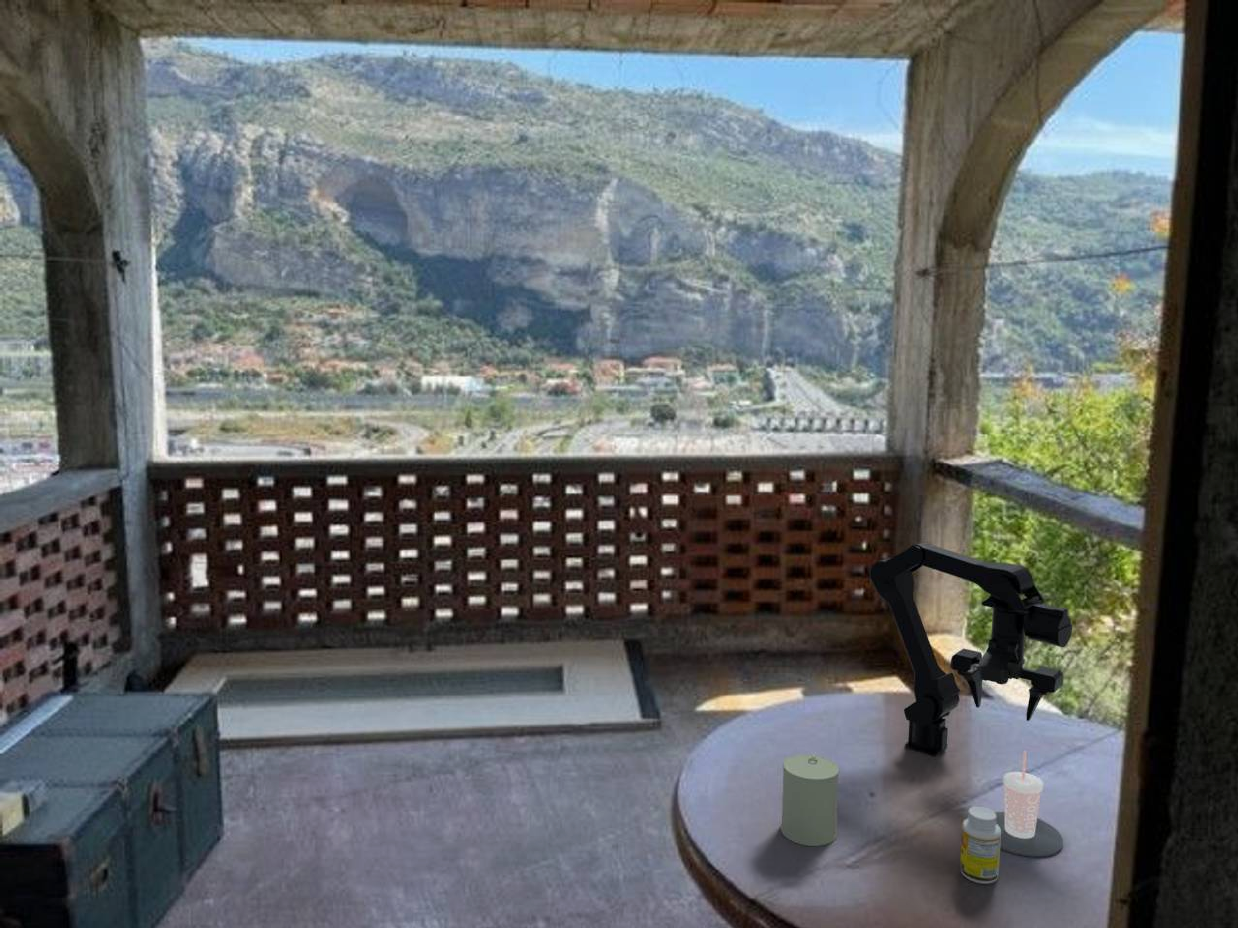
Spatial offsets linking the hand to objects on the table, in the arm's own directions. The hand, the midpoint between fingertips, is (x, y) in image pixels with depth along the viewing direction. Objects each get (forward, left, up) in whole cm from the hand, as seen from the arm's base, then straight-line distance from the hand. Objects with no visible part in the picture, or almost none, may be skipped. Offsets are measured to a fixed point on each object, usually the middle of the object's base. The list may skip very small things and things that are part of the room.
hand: (1002, 713), depth 173 cm
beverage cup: (+10, -20, -12) cm, 25 cm away
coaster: (+10, -20, -12) cm, 25 cm away
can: (-17, -42, -12) cm, 47 cm away
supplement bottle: (+9, -36, -12) cm, 39 cm away
